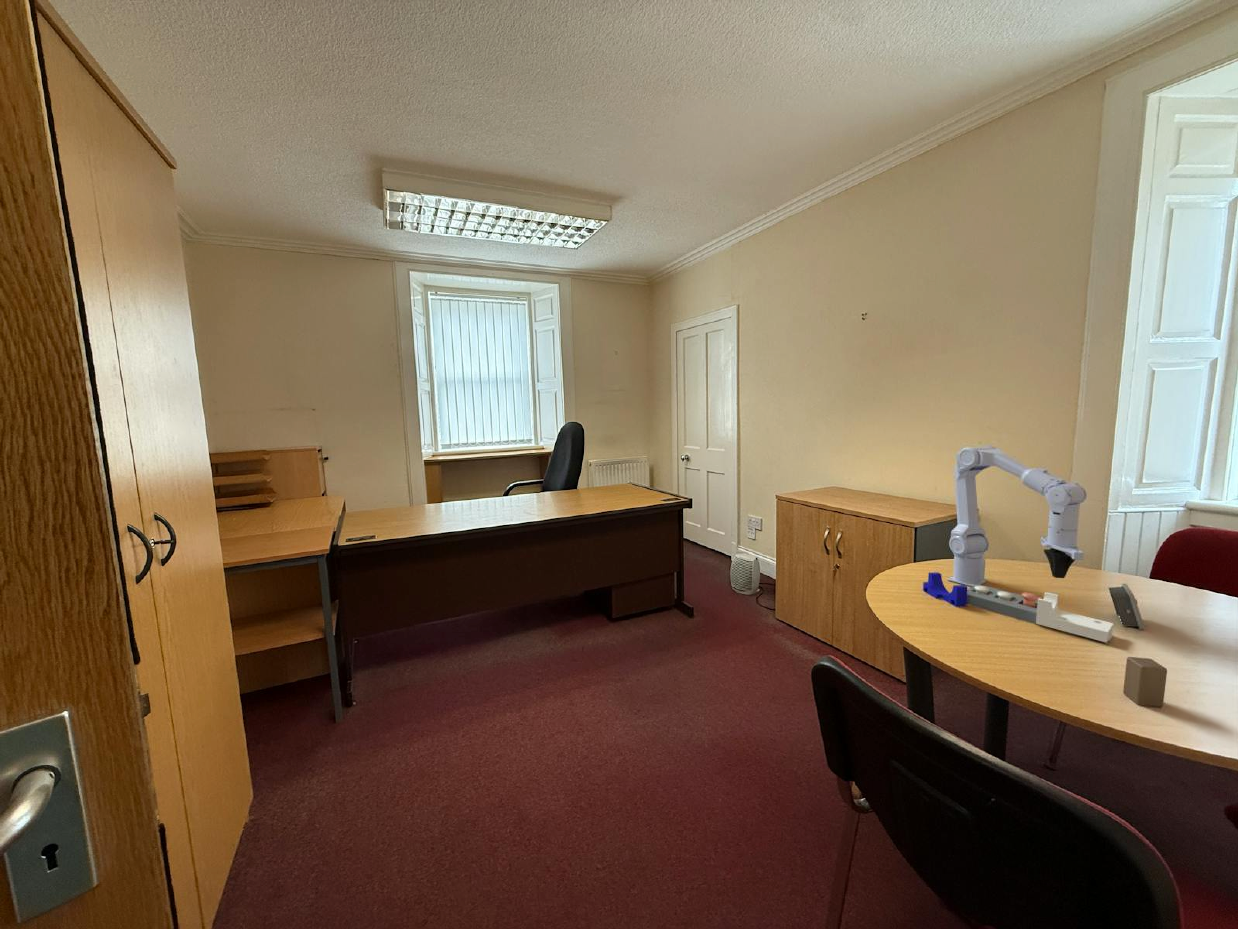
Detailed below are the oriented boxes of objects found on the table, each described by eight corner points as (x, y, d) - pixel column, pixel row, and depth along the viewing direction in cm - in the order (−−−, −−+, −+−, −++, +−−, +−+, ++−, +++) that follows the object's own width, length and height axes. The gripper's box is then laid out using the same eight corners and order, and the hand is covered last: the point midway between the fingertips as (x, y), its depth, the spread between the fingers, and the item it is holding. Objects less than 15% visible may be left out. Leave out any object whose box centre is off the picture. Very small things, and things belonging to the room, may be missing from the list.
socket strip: (977, 593, 144) (977, 584, 144) (1049, 613, 130) (1050, 602, 130) (960, 602, 138) (961, 592, 138) (1035, 624, 124) (1036, 613, 124)
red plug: (1023, 604, 132) (1024, 591, 131) (1039, 608, 129) (1040, 595, 129) (1018, 607, 130) (1019, 594, 130) (1034, 612, 127) (1035, 598, 127)
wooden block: (1146, 696, 94) (1151, 658, 93) (1163, 708, 90) (1168, 669, 89) (1121, 693, 95) (1125, 655, 94) (1137, 705, 91) (1142, 666, 90)
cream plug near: (976, 597, 141) (977, 584, 141) (990, 600, 138) (991, 588, 138) (971, 599, 139) (972, 587, 139) (985, 603, 137) (986, 591, 136)
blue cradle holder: (922, 591, 148) (923, 572, 147) (937, 590, 148) (938, 572, 147) (950, 607, 136) (951, 587, 135) (966, 607, 136) (967, 587, 135)
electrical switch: (1145, 631, 119) (1143, 595, 118) (1115, 628, 122) (1113, 592, 122) (1136, 618, 126) (1135, 583, 126) (1109, 615, 129) (1107, 581, 129)
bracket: (1035, 627, 123) (1037, 599, 122) (1043, 619, 127) (1045, 592, 127) (1106, 646, 113) (1109, 616, 112) (1112, 637, 117) (1115, 608, 116)
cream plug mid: (999, 603, 137) (1000, 590, 136) (1013, 607, 134) (1014, 594, 133) (994, 606, 135) (995, 593, 134) (1009, 610, 132) (1010, 597, 131)
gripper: (1029, 521, 135) (1025, 567, 136) (1061, 534, 121) (1057, 586, 122) (1059, 522, 133) (1055, 568, 134) (1095, 536, 119) (1090, 588, 121)
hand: (1058, 577), depth 128 cm, fingers closed
